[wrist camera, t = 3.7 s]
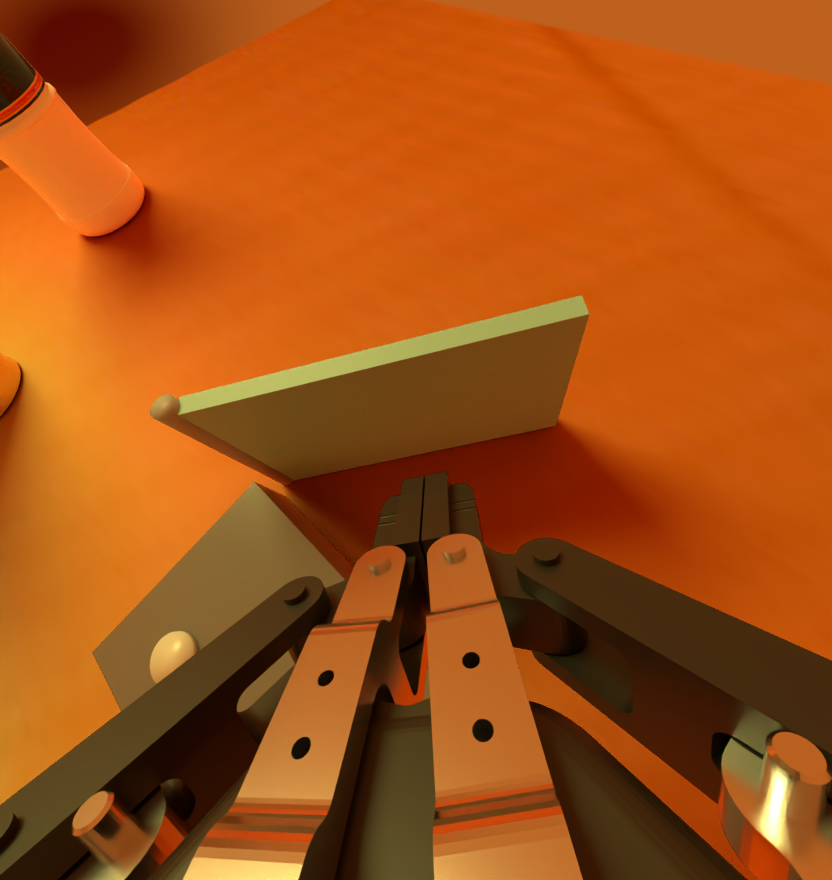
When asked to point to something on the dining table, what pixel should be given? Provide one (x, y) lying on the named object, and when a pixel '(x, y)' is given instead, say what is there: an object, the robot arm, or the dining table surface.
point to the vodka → (61, 153)
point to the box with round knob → (219, 594)
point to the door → (392, 397)
